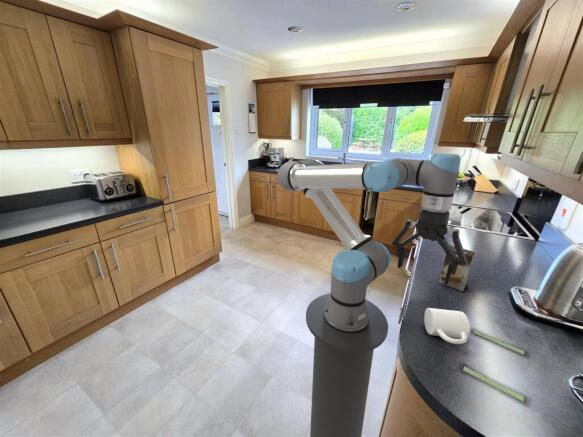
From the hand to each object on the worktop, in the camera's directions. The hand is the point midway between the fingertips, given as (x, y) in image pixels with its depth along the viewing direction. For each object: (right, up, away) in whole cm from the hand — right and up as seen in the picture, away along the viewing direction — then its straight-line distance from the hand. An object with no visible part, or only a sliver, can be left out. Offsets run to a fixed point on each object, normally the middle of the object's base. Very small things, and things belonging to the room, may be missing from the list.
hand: (422, 274), depth 76 cm
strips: (+16, -23, -8) cm, 29 cm away
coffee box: (+28, -11, +28) cm, 41 cm away
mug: (+7, -20, 0) cm, 21 cm away
